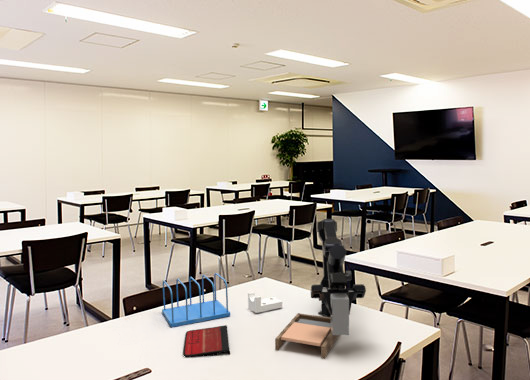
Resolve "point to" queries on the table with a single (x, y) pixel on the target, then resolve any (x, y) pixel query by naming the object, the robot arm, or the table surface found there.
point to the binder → (206, 342)
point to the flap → (307, 332)
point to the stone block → (340, 314)
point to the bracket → (262, 303)
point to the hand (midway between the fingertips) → (340, 314)
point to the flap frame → (330, 337)
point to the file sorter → (195, 306)
